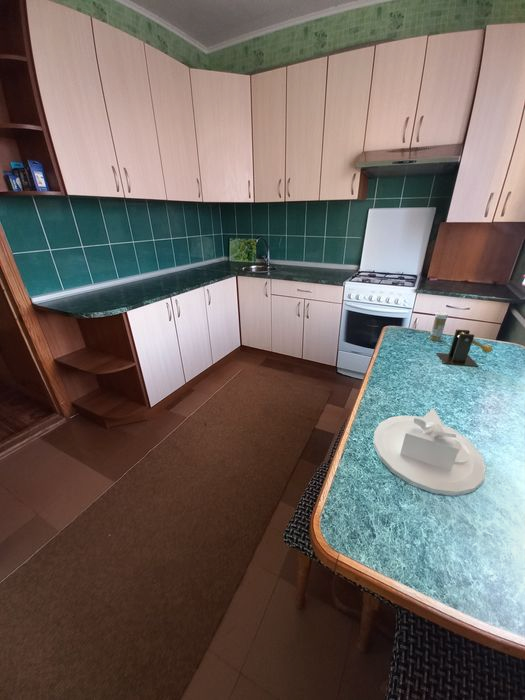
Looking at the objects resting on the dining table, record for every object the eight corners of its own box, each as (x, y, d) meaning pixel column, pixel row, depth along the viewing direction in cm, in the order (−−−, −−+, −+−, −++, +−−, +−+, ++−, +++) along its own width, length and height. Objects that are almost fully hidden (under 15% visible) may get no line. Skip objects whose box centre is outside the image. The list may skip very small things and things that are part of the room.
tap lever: (485, 352, 111) (492, 345, 110) (489, 356, 108) (496, 349, 107) (455, 336, 111) (461, 329, 109) (458, 340, 108) (465, 333, 107)
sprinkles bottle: (426, 339, 133) (434, 311, 127) (437, 339, 133) (444, 311, 127) (431, 343, 129) (439, 315, 123) (442, 343, 129) (450, 315, 123)
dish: (490, 514, 58) (511, 476, 53) (363, 467, 70) (370, 431, 64) (479, 437, 77) (494, 403, 72) (381, 409, 89) (387, 378, 83)
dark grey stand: (467, 358, 116) (477, 328, 111) (477, 369, 109) (488, 338, 103) (435, 355, 119) (443, 326, 113) (442, 366, 111) (451, 336, 105)
